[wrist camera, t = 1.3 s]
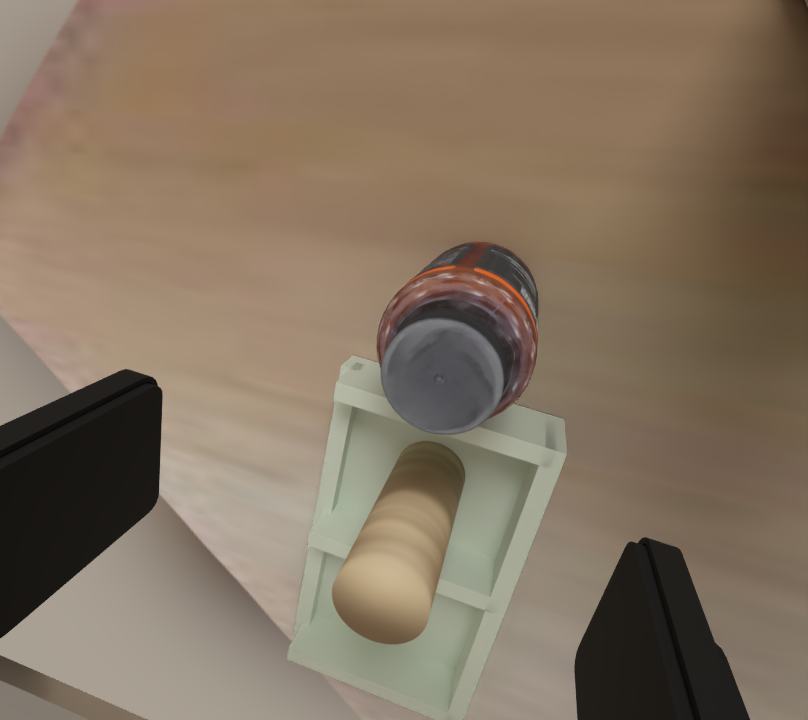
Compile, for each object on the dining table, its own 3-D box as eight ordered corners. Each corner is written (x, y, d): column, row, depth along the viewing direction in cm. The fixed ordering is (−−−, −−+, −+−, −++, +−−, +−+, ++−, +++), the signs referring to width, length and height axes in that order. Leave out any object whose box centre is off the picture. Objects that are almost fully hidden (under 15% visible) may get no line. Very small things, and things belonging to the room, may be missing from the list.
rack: (352, 355, 29) (327, 379, 26) (564, 419, 28) (566, 454, 24) (304, 611, 37) (279, 656, 34) (468, 674, 35) (459, 729, 32)
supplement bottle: (402, 315, 28) (318, 398, 18) (459, 216, 26) (401, 245, 15) (497, 375, 28) (468, 494, 17) (564, 281, 25) (577, 354, 15)
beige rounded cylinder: (404, 432, 29) (340, 548, 20) (473, 454, 29) (439, 584, 20) (390, 489, 31) (324, 622, 22) (455, 511, 30) (416, 658, 21)
